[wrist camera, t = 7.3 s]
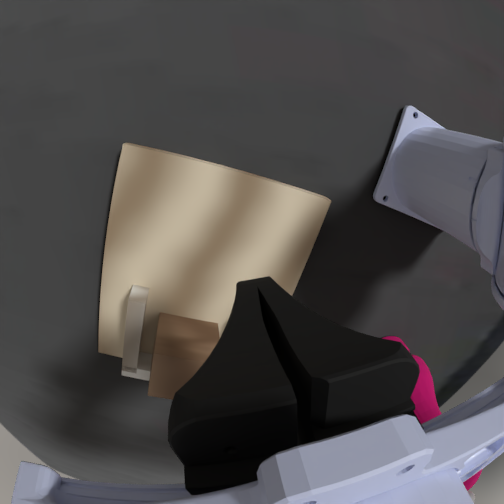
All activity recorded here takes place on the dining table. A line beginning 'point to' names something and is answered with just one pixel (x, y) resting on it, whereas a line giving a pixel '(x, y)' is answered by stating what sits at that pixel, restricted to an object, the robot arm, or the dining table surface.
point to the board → (193, 245)
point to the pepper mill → (429, 403)
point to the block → (179, 352)
